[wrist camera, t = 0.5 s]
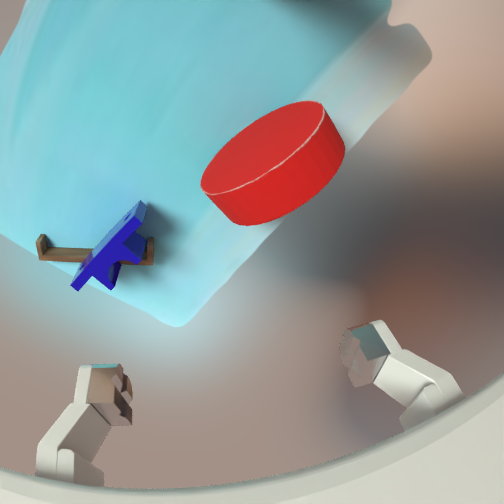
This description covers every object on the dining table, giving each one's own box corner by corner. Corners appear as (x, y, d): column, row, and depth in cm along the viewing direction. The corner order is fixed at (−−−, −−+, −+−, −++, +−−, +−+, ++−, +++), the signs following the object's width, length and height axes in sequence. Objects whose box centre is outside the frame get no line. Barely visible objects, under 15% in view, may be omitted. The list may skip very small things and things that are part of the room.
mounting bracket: (80, 264, 51) (103, 283, 54) (70, 285, 45) (95, 305, 48) (140, 199, 48) (164, 223, 51) (134, 215, 42) (161, 241, 45)
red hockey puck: (219, 188, 52) (237, 252, 36) (197, 164, 49) (205, 220, 33) (310, 121, 48) (373, 154, 32) (293, 94, 45) (352, 113, 29)
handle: (40, 234, 48) (33, 245, 45) (153, 237, 55) (152, 249, 52) (44, 251, 51) (37, 263, 47) (153, 256, 57) (152, 268, 54)
